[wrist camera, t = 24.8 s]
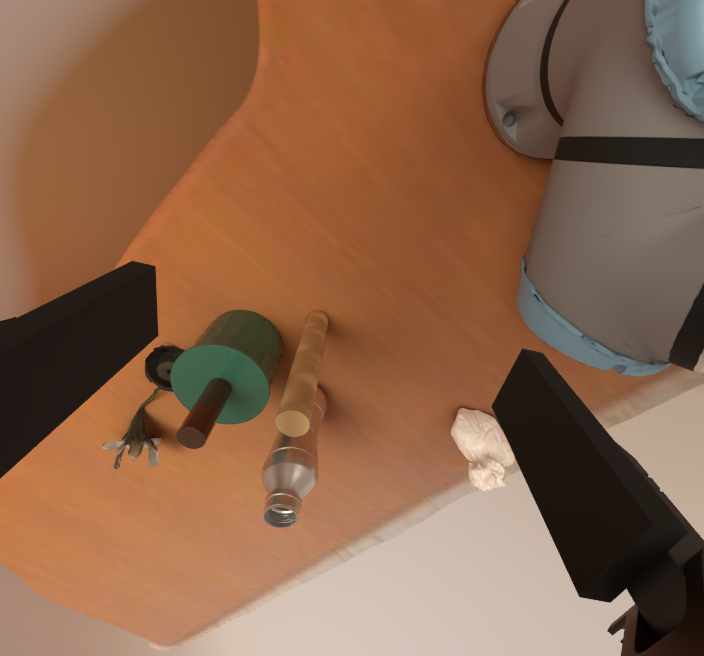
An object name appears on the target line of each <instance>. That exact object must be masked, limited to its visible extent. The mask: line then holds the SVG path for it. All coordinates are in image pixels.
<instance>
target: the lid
mask: <svg viewBox="0 0 704 656" xmlns="http://www.w3.org/2000/svg"><path fill="white" fill-rule="evenodd" d="M170 379H171V385H172V389H173V391H174V393H175V395H176V397H177V398H178V400H179V401H180V402H181V403H182V404H183V406H184V407H186V408H187V409H188V410H189V411H190V413H189V414H188V416H187V417H186V419H185V420H184V422H183V424H182V425H181V427H180V428H179V430H178V432H177V435H176V437H177V440H178V441H179V443H180V444H182V445H183V446H185V447H187V448H191V449H197V448H200V447H202V446H203V445H204V444H205V443H206V441H207V439H208V437H209V435H210V433H211V431H212V429H213V427H214V425H215V423H220V424H238V423H243V422H246V421H249V420H251V419H253V418H255V417H256V416H257V415H259V414H260V413H261V412H262V411H263V409H264V408H265V406H266V404H267V402H268V399H269V396H270V383H269V379H268V376H267V374H266V372H265V370H264V369H263V367H262V366H261V365H260V363H259V362H258V361H257V360H256V359H255V358H253V357H252V356H251V355H249V354H248V353H246V352H245V351H243V350H241V349H239V348H237V347H234V346H231V345H227V344H223V343H203V344H198V345H195V346H192V347H190V348H188V349H187V350H185V351H184V352H183V353H182V354H181V355H180V356H179V357H178V358H177V359H176V361H175V362H174V364H173V366H172V369H171V376H170Z"/></svg>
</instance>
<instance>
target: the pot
mask: <svg viewBox="0 0 704 656" xmlns="http://www.w3.org/2000/svg"><path fill="white" fill-rule="evenodd" d="M203 343H223V344H227V345H231V346H234V347H237V348H239V349H241V350H243V351H245V352H246V353H248V354H249V355H251V356H252V357H253V358H255V359H256V360H257V361H258V362H259V363H260V365H261V366H262V367H263V369H264V370H265V372H266V374H267V376H268V379H269V383H270V385H271V382H272V379H273V377H274V374H275V371H276V368H277V366H278V363H279V360H280V358H281V353H282V341H281V337H280V335H279V333H278V331H277V329H276V328H275V327H274V325H273V324H272V323H271V322H270V321H268V320H267V319H266V318H264V317H263V316H261V315H259V314H256V313H254V312H250V311H245V310H234V311H229V312H226V313H224V314H222V315H220V316H219V317H218V318H217V319H216V320H215V321H213V322H212V323H211V324H210V326H209V327H208V328H207V329H206V330H205V332H204V333H203V334H202V335H201V336H200V338H199V339H198V340H197V341H196V343H195V344H194V345H193V346H195V345H198V344H203Z"/></svg>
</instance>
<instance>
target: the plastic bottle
mask: <svg viewBox="0 0 704 656" xmlns="http://www.w3.org/2000/svg"><path fill="white" fill-rule="evenodd" d="M325 411H326V399H325V395H324V393H323V392H322V390H320V389H319V388H318V387H317V390H316V395H315V401H314V407H313V412H312V418H311V424H310V428H309V430H308V431H307V432H306V433H305V434H304V435H301V436H298V437H291V436H287V435H284V434H283V433H281V432H280V431H279V430H278V432H277V435H276V438H275V441H274V443H273V446H272V448H271V450H270V452H269V454H268V456H267V458H266V461H265V463H264V465H263V468H262V482H263V484H264V487H265V490H266V492H267V494H268V496H267V497H266V500H265V508H264V511H263V519H264V521H265V522H266V523H267V524H268V525H270V526H272V527H276V528H287V527H291V526H293V525H294V524H295V523H296V522H297V520H298V517H299V512H300V509H301V506H302V499H303V498H304V497H305V496H306V495H307V494H308V493H309V492H310V491H311V490H312V489H313V487H314V485H315V483H316V481H317V478H318V457H317V445H318V433H319V429H320V425H321V421H322V419H323V417H324V414H325Z"/></svg>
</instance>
